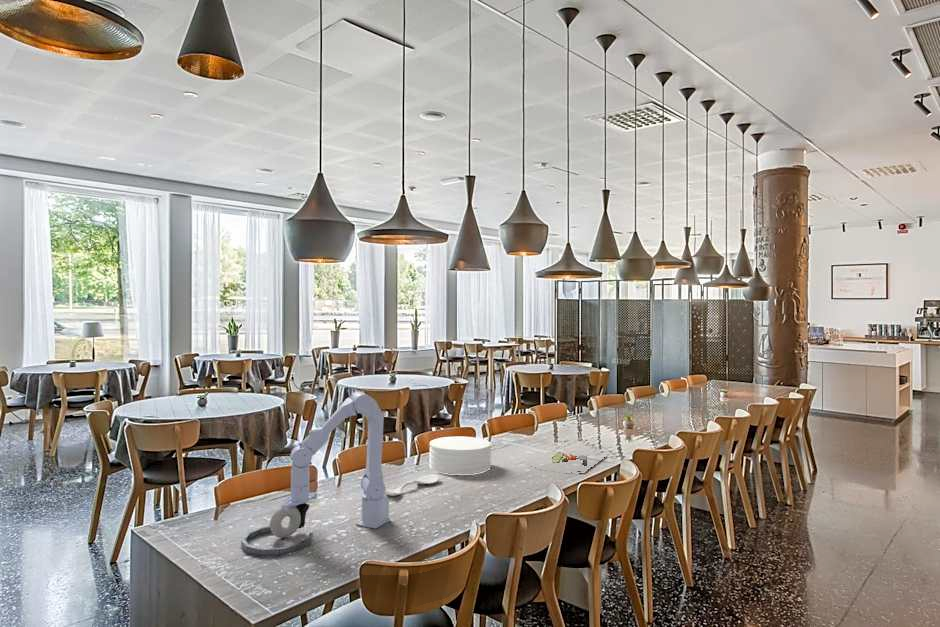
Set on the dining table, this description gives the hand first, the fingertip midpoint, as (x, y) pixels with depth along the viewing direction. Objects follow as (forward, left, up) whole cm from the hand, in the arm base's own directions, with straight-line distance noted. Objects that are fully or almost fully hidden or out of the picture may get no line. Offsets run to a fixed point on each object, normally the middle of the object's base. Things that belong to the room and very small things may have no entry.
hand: (299, 527), depth 190 cm
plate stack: (-95, +11, -2) cm, 96 cm away
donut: (+5, -1, -2) cm, 6 cm away
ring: (+11, 0, -2) cm, 11 cm away
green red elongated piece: (-131, +52, -2) cm, 141 cm away
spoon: (-57, +8, -2) cm, 57 cm away
